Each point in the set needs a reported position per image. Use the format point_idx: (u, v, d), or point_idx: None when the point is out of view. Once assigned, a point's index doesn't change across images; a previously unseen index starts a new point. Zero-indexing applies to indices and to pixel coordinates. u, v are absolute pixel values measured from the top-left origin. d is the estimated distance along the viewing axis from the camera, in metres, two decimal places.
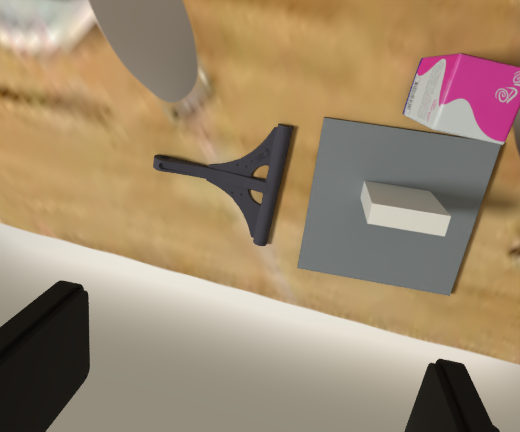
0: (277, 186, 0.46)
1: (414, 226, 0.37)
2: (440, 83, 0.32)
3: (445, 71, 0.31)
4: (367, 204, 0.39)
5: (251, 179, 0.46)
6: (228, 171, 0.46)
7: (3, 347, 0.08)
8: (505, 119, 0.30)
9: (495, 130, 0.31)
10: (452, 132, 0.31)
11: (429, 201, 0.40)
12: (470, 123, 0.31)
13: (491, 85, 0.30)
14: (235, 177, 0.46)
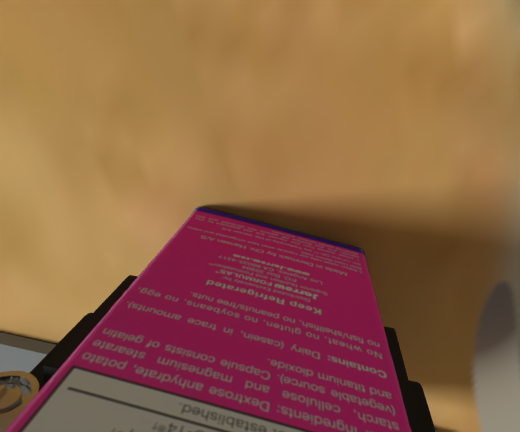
0: None
1: None
2: None
3: None
4: None
5: None
6: None
7: None
8: None
9: None
10: None
11: None
12: None
13: None
14: None
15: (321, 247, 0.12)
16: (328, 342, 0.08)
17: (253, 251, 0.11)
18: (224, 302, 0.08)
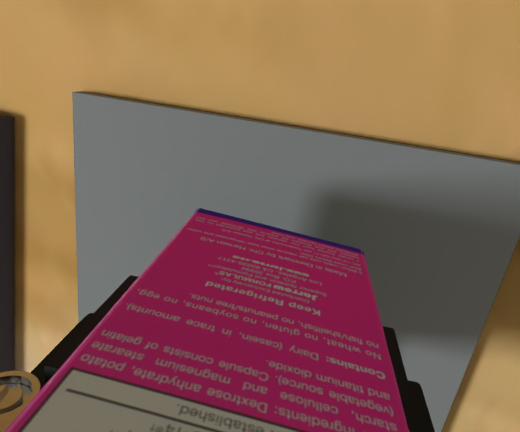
0: (1, 259, 0.19)
1: None
2: None
3: None
4: None
5: None
6: None
7: None
8: None
9: None
10: None
11: None
12: None
13: None
14: None
15: (321, 248, 0.12)
16: (327, 343, 0.08)
17: (253, 252, 0.11)
18: (223, 304, 0.08)
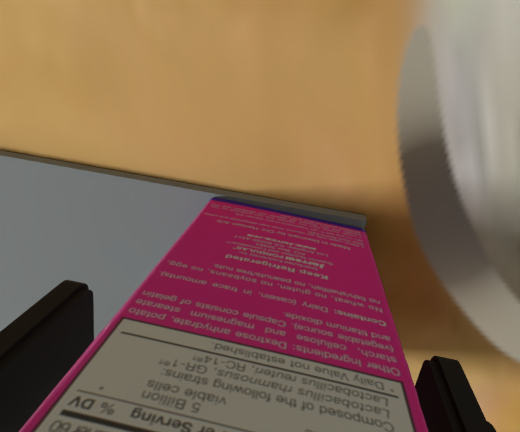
0: None
1: None
2: None
3: None
4: None
5: None
6: None
7: (11, 346, 0.08)
8: None
9: None
10: None
11: None
12: None
13: None
14: None
15: (326, 227, 0.13)
16: (334, 300, 0.09)
17: (265, 231, 0.12)
18: (242, 271, 0.10)
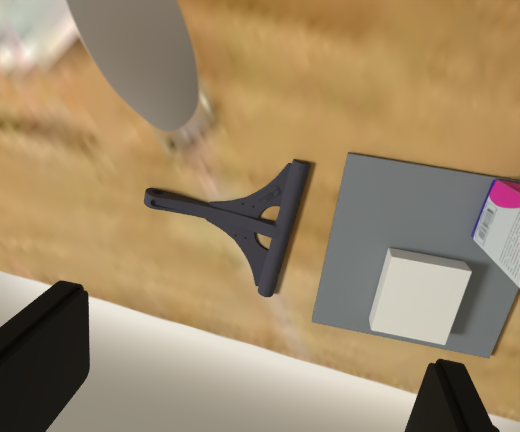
0: (289, 231, 0.39)
1: None
2: None
3: None
4: (375, 303, 0.39)
5: (258, 221, 0.39)
6: (232, 211, 0.40)
7: (3, 347, 0.08)
8: None
9: None
10: None
11: (445, 309, 0.37)
12: None
13: None
14: (240, 219, 0.40)
15: None
16: None
17: None
18: None
